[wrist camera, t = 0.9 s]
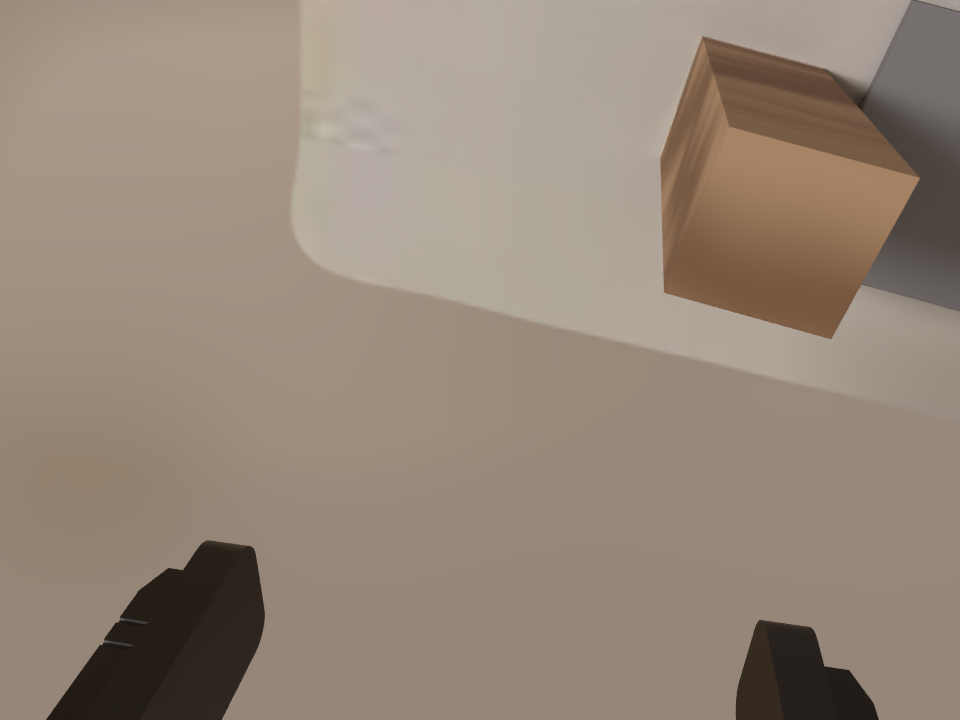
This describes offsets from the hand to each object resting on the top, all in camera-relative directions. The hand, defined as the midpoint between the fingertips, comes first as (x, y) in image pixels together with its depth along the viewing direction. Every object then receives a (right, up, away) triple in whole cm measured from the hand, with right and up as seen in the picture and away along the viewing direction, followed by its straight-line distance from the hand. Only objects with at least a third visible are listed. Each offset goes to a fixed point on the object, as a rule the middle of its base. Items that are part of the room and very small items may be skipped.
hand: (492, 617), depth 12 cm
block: (+9, +13, +17) cm, 24 cm away
